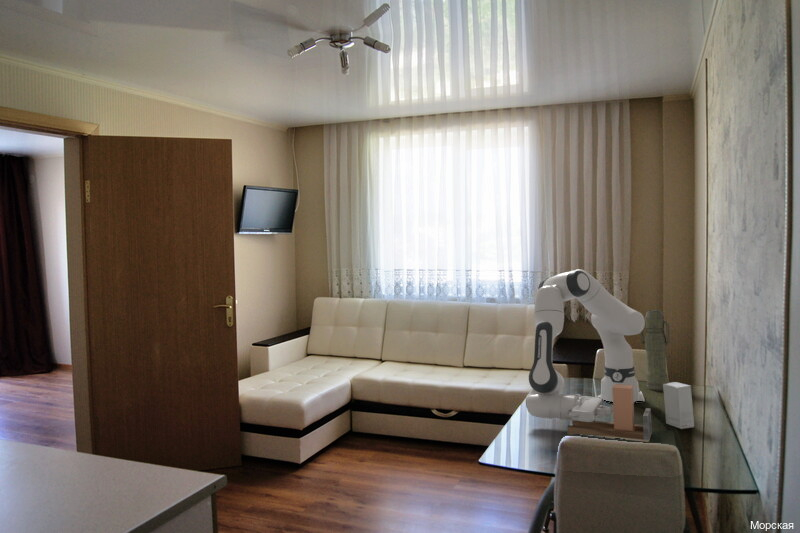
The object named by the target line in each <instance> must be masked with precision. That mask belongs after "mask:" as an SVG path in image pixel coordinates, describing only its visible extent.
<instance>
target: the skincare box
mask: <svg viewBox="0 0 800 533" xmlns="http://www.w3.org/2000/svg"><path fill="white" fill-rule="evenodd" d="M662 392H663V398H664V399H663V400H664V401H663V402H664V411H665V412H664V413H665V424H667V425H669V426H672V427H674V428H678V429H680V430H683V429H691V428H692V429H693V428H695V416H694V407H693V397H692V396H693V395H692V385H690V384H686V383H681V382H678V381H672V382H668V383H666V384H663V391H662Z"/></svg>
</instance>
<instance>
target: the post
mask: <svg viewBox="0 0 800 533" xmlns="http://www.w3.org/2000/svg"><path fill="white" fill-rule="evenodd" d="M612 391H613V403H612V414H613V422H614V429H617V430H628V431H635V405H634V404H635V403H634V400H633V385H619V384H614V386H613V387H612Z"/></svg>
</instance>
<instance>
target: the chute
mask: <svg viewBox="0 0 800 533" xmlns="http://www.w3.org/2000/svg"><path fill="white" fill-rule="evenodd" d="M651 410H652V409H651V408H649V407H645V410H644V412H643V415H642V424H639V423H638V424H637V423H636V424H635V431H628V430H617V429H614V421H603V420H602V421H599V420H594V421H593V422H582V421H571V422H572V425H570V424H569V425H567V426H566V428H567V429H566V430H567V435H570V436H571V435H573V434H582V435H593V436H600V437H599V438H603V437H605V438H606V439H612V440H613V439H615V438H620V439H619V440H623V439H625V441H626V440H627V441H636V442H637V441H638V442H646V443H649V442H650V438H651V437H652V436H651V435H652V434H653V433H652V432H653V431H652V411H651ZM582 435H581V436H582ZM615 440H616V439H615Z"/></svg>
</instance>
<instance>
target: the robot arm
mask: <svg viewBox="0 0 800 533" xmlns="http://www.w3.org/2000/svg"><path fill="white" fill-rule="evenodd" d="M535 294H536V295H535V299H534V300H535V301H534V309H533V310H534V314H533V315H534V316H533V317H534V332H535V338H534V353H533V354H534V355H533V356H534V357H533V364H532V366H531V367H530V370H529V374H528V383H529V385H530V387H531V388H532V389H531V390H530V391H529V393H528V394H527V395H526V397H525V406H526V409H527V412H528V413H529V414H530V415H531V416H532V417H535V418H541V419H549V420H552V419H558V420H561V421H571V422H572V421H582V422H593V421H595V419H596V418H597V416H603V415H611V414H613V407H611V406H606V405H603V401H604V400H606V401H612V402H613V391H612V387H613V386H614V384H619V385H633V400H634V402H635V401H643V402H642V403H644V402H646V401H645V399H646V398H645V397H644V394H643V392H642V391H641V389H640V387H639V381H638V379H637V378H636V376H635V375H636V369H635V366H634V357H633V355H634V353H633V348H632V346H631V344H629V343H628V342H627V340H626V338H625V336H634V335H635V336H637V335H639V334H641V332H642V330H643V331H644V328H645V327H646V324H645V316H644V315H643V314H642V313H641V312H640V311H637V310H636V309H633V308H631V307H630V306H629V305H627V304H626V303H624V302H623V301H621V300H620V299H618V298H616V297H615V295H612V294H611V293H610V291H608V290H607V289H606V288H605V287H604V286H603V285H602V284H601V283H600V281H598V280H597V279H596V278H595V277H594V276H593V275H592V274H590V273H589V272H587V271H586V270H584V269H582V268H581V269H580V268H577V269H574V270H570V271H565V272H561V273H557V274H556V275H553V276H551V277H547V278H545V279H543V280H542V281H540V283H539V284H538V287H537V291H536V293H535ZM574 299H576V300H577V301H578V302H579V303H580V304H581V305H582V306H583V307H584V308H585V309H586V310H587V311H588V312H589V313H590V314H591V316H590V322H591V325H592V326H593V327H594V329H595V330H596V331H597V334H598V335H599V336H600V339H601V343H602V346H603V351H604V366H603V367H604V369H603V371H604V376H603V378H601V381H600V387H601V388H600V394H599V395H597V396H596V397H595V396H588V395H581V394H580V393H574V394H563V393H564V388H565V380H564V377H563V375H562V374H561V373H560V372H559V371H557V370H556V369H555V368H554V364H553V351H554V350H553V349H554V348H553V347H554V346H553V344H554V340H555V338H556V337H557V336H558V335H561V333H562V331H563V329H564V322H565V311H564V310H565V309H564V302H568V301H571V300H574ZM602 399H603V400H602ZM606 401H605V402H606Z"/></svg>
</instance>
